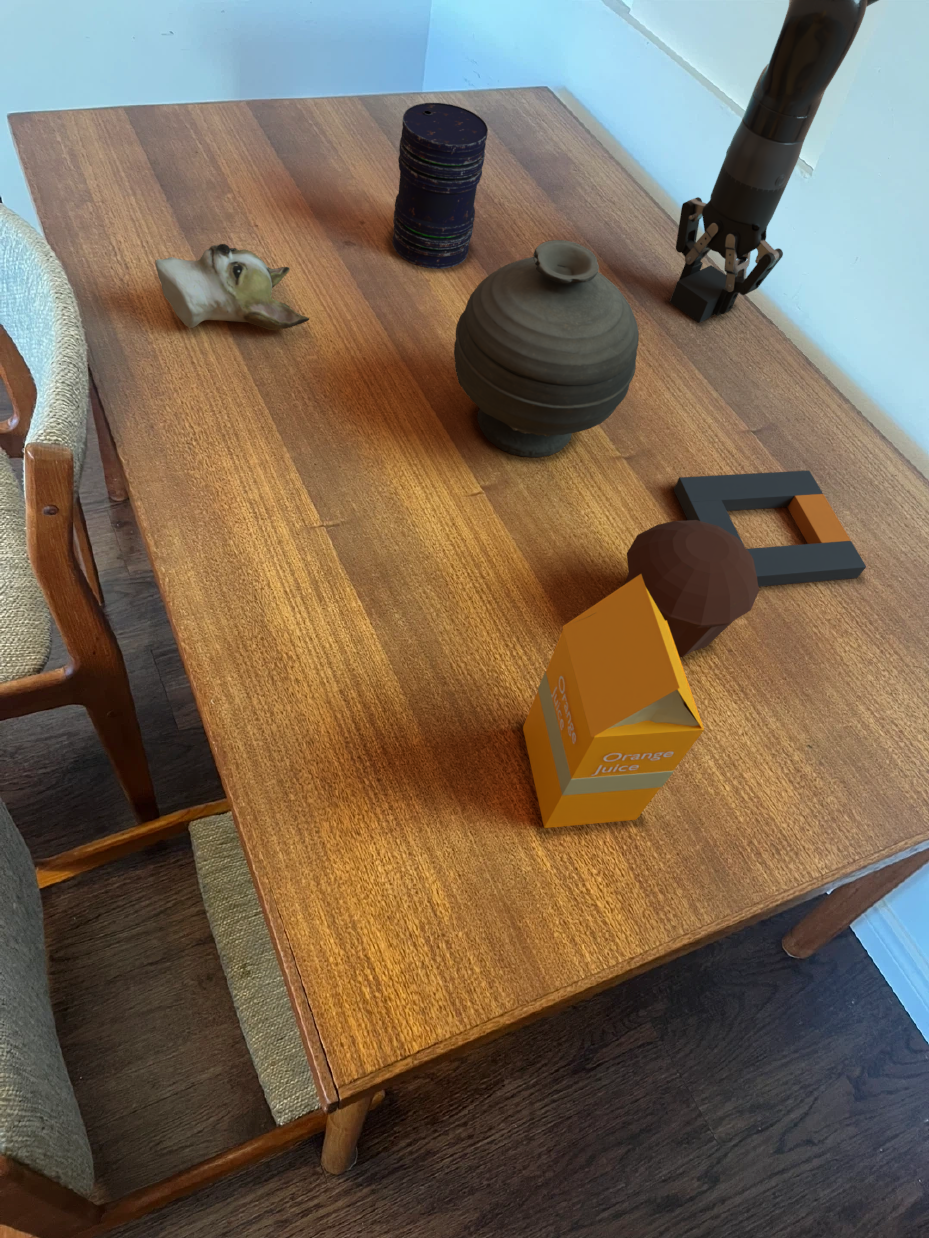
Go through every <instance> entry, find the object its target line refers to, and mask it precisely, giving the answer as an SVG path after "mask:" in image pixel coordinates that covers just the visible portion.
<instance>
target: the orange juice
mask: <svg viewBox="0 0 929 1238" xmlns="http://www.w3.org/2000/svg"><path fill="white" fill-rule="evenodd" d="M625 583H626V582H625ZM680 657H681V656H679V654H678V652H677V649H676V646H675V643H674V640H673V637H672V634H671V631H670V628H669V625H668V623H667V620H666V621H665V620H664V618H663V616H662V614H661V613H660V611H659V609H658V607H657V606H656V604H655V602H654V600H653V599H652V597H651V595H650V593H649V592H648V590H647V588H646V586H645V584H644V581H643V578H642V575H641V574H640V575H638V576H637V577H635V578H634V579H632V580H631V581H629V582H628V583H626V584H624V585H622V586H620V587H619V588H617V589H616V590H614V591H613V592H612V593H610V594H608V595H607V596H606V597H604V598H602V599H601V600H600V601H598V602H596V603H595V604H594V605H592V606H590V607H589V608H588V609H586V610H585V611H583V612H582V613H580V614H579V615H578V616H576V617H574V618H573V619H571V620H570V621H569V622H567V623H566V624H564V625H562V631H561V633H560V636H559V638H558V641H557V643H556V645H555V647H554V651H553V652H552V655H551V657H550V660H549V663H548V665H547V667H546V670H545V671H544V673H543V675H542V678H541V680H540V682H539V685H538V688H537V692H536V693H535V696H534V699H533V701H532V704H531V706H530V709H529V711H528V714H527V716H526V718H525V720H524V724H523V726H522V731H523V735H524V740H525V745H526V749H527V754H528V758H529V763H530V769H531V773H532V778H533V782H534V786H535V792H536V797H537V802H538V805H539V810H540V815H541V821H542V825H543V829H550V828H561V827H571V826H585V825H593V824H595V825H596V824H606V823H616V822H627V821H637V820H638V818H639V817H640V816H641V814H642V813H643V812H644V811H645V809H646V808H647V807H648V805H649V804H650V803H651V801H652V800H653V799H654V797H655V796H656V795H657V793H658V792H659V791H660V789H661V788H663V787H664V785H665V784H666V783H667V781H668V780H669V779H670V778H671V776H672V775H673V773H674V772H675V769H676V768H677V767H678V765H679V764H680V763H681V762H682V760H683V759H684V758H685V756H686V755H687V754H688V752H689V751H690V750H691V748H692V747H693V746H694V745H695V744H696V742H697V741H698V739H699V738H700V737H701V735H702V734H703V732H704V731H705V727H704V724H703V721H702V719H701V715H700V713H699V708H698V707H697V704H696V701H695V698H694V695H693V693H692V690H691V687H690V684H689V681H688V678H687V675H686V672H685V669H684V667H683V662H682V660H681V658H680Z"/></svg>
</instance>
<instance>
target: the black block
mask: <svg viewBox="0 0 929 1238" xmlns="http://www.w3.org/2000/svg"><path fill="white" fill-rule="evenodd" d="M725 283H726V274H725V273H724V272H722V271H721V270H719V269H717V268H716V267H715V266H713V265H712V264H710V265H708V266H706V267H703V268H701V269H700V271H698V272H696V273H694V274H692V275H690V276H687V277H685V278H683V279H681V280H679V279H678V280H677V281H676V284H675V286H674V289H673V292H672V294H671V297H670V300H669V303H670V304H671V305H673V306H675V308H677V309H678V310H680V311H681V312H683V313H685V314H686V315H687V316H688V317H690V318H691V319H693V320H695V321H696V322H697V323H699V324H700V323H702V322H704V321H706V320H708V319H710V318H712V317H714V316H715V315H714V314H713V311H714V309H715V306H716V304H717V302H718V299H719V297H720V294H721V292H722V289H723V288H725Z"/></svg>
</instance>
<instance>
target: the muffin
mask: <svg viewBox="0 0 929 1238" xmlns="http://www.w3.org/2000/svg"><path fill="white" fill-rule="evenodd" d="M743 544H744V543H743ZM743 544H742V543H741V541H740V540H739V539H738V538H737V537H735V536H734V535H732V534H731V533H729V532H727V531H726V530H724V529H722V528H721V527H719V526H717V525H713V524H709V523H705V522H701V521H698V520H673V521H667V522H663V523H658V524H656V525H654V526H652V527H650V528H648V529H646V530H644V531H642V532H640V533H638V534H637V535H636V537H635V538H634V539H633V541H632V544H631V545H630V547H629V548H628V550H627V552H626V558H627V561H626V563H627V576H626V580H625V584H626V583H628V582H629V581H631V580H632V579H634V578H635V577H637V576H638V575H640V574H641V575H642V578H643V581H644V584H645V586H646V588H647V590H648V592H649V593H650V595H651V597H652V599H653V600H654V602H655V604H656V606H657V607H658V609H659V611H660V613H661V614H662V616H663V618H664V620H665V621H666V620H667V623H668V625H669V628H670V631H671V634H672V637H673V640H674V643H675V646H676V649H677V652H678V654H679V657H681V658H684V657H686V656H687V655H689V654H691V653H692V652H695V651H698V650H701V649H704V648H707V647H708V646H709V645H710V644H711V643H713V641H714V640H715V639H717V637H718V636H720V635H721V633H723V632H724V631H725V630H726V629H727V628H728V627H729V626H731V624H732V623H733V622H735V621H736V620H737V619H739V618H741V617H742V616H744V615H746V614H747V613H749V612H750V611H752V609H753V606H754V604H755V601H756V599H757V597H758V594H759V592H760V587H759V586H758V581H757V575H756V570H755V565H754V560H753V558H752V556H751V554H750V553H749V551H748V550H747V549H748V548H747V547H746V546H745V544H744V545H743ZM625 584H624V585H625Z"/></svg>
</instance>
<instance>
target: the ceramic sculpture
mask: <svg viewBox="0 0 929 1238" xmlns="http://www.w3.org/2000/svg"><path fill="white" fill-rule="evenodd" d="M154 265H155V269H156V273H157V278H158V279H159V282H160V286H161V290H162V294H163V297H164V299H166V301H167V302H168V304H170V306H171V308H172V309H173V311H174V313H175V314H176V316H177V318H179V320H180V321H181V322H182V323H183V324H184V326H186V327H187V328H189V329H193V328H196V327H197V326H199V324H200V323H202V322H204V321H227V322H237V323H238V322H240V323H248V324H250V325H251V324H252V325H255V326H258V327H261V328H264V329H266V330H269V331H279V330H284V329H285V330H286V329H290V328H293V327H296V326H299V325H302V324H304V323H307V322H308V321H310V317H308V316H305V315H302V314H301V313H298V312H296V311H295V310H294V309H293V308H291V307H290V306H289V305H288V304H286V303H284V302H281V301H278V300H276V299H274V298H272V294H273V293H272V291H273V288H274V287H276V286H277V285H278V284H279V283H280V282H281V281H282V280H283V278H284V277H286V276H287V275H288V273H290V269H291V268H290V266H280V267H278V268H277V267H276V268H271V267H270V266H269V267H268V266H267V264H266V263H265V262H264V261H263V259H262V258H260V257H259V256H258V255H256V253H254V252H253V251H251V250H249V249H246V248H245V249H244V248H243V249H238V248H236V247H231V248H230V246H229V245H228V244H225V243H219V244H215V245H211V246H209V248H207V249H205V250H204V251H203V253H202V255H201V256H200V258H199V259H197V260H188V259H182V258H177V257H174V256H171V257H170V256H169V257H167V258H163V259H159V258H158V259H156V260H155V261H154Z"/></svg>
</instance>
